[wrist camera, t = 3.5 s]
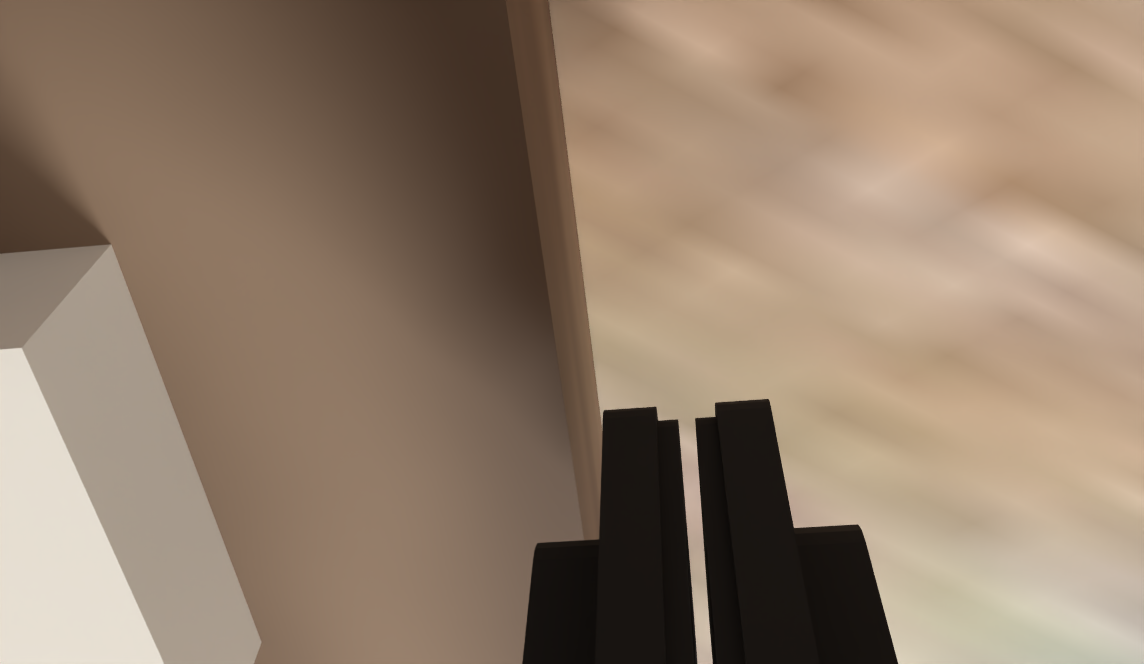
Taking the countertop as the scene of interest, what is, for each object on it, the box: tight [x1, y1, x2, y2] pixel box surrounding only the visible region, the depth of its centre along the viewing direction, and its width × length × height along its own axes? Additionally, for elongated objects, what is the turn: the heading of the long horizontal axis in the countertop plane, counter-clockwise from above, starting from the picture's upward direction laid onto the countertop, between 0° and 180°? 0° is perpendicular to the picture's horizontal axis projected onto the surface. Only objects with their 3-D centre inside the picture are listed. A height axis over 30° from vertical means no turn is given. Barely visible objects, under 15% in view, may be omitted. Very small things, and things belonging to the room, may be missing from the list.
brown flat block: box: [0, 0, 602, 664], centre depth 15 cm, size 13×16×4 cm
